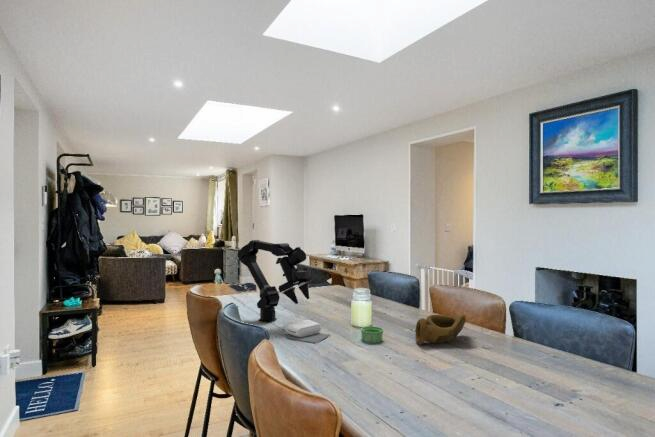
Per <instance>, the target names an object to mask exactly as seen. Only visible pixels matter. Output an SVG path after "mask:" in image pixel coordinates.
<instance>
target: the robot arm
mask: <svg viewBox="0 0 655 437" xmlns="http://www.w3.org/2000/svg"><path fill="white" fill-rule="evenodd" d="M259 250H260V251H265V252H269V253H271V254H272V255H273V256H275V257H278V258H277V259H276V262H275V264H276V265H280V267H281V270H282V272H283V274H282V277H285V278H286V282H284V283H282V284H281V285H278V290H277V287H276V286H274V285H273V286H271V285H270V284H269V282H268V280H267V279H266V277H265V275H264V273H263V271H262V270H261V268H260V266H259V264H258V262H257V254H258V253H259ZM237 259H238V260H239V262H240V263H241V264H243V265H244V266H246V267H247V269H248V271H249V272H250V275H251V277H252V278H253V280H254V282H255V284H256V286H257V288H258V289H259V298H260V299H259V300H258V301H257V303H256V306H257V308H258V309H260V310H259V311H260V312H259V316H260V317H259V318H258V319H257V321H258V322H259V321H260V322H263V323H264V322H265V323H266V322H267V323H271V322H273V320H274V321H276V320H277V319H278V318H277V317H276V307H278V305H279V302H280V294H279V293H281V294H282V295H285V296H286V297H287V298H288V299H290V300H291V301H292V302H293V303H294V304H295V305H298V303H299V302H298V297H297V295H296V292H295V290H296V286H298V289H299V290H300V292H301V294H302V295H303V296H304V297H305V298H306V300H309V299H310V292H309V285H310V284H311V281H312V277H311V273H312V271H311V269H310V268H309V267H305V268H303V270H300V269H299V267H298V268H296V266H298V265H299V264H301V263H303V262H304V261H306V260H307V253H306V252H305V251H304V250H303V249H301V247H300V246H296V247H294V249H293V247H291V245H290V243H287V242H284V243H282V242H281V243H273V242H267V241H263V240H260V239H251V240H250V241H249V242H248V243H247V244H245V245H243V247H241V248H240V249H239V250H238V252H237Z"/></svg>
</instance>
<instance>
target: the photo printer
mask: <svg viewBox="0 0 655 437" xmlns="http://www.w3.org/2000/svg"><path fill="white" fill-rule="evenodd" d="M284 328H285V329H284V330H285V331H286V333H287V334H288V335H290V336H291V335H293V336H296V337H304V336H308V335H312V334H316V333H320V332H321V331H322V327H321V324H320V323H318V322H316V321H313V320H312V319H311V320H310V319H304V320H303V319H302V320H299V321H293V322H289V323H287V324H285V327H284Z"/></svg>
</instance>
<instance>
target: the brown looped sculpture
mask: <svg viewBox="0 0 655 437" xmlns="http://www.w3.org/2000/svg"><path fill="white" fill-rule="evenodd" d="M466 321H467V319H466V315H465V314H461V315H460V316H457V317H454V316H450V315H444V314H430V315H428V316H427V317H426V318H424V317H423V318H422V317H421V318H419V319H418V320H417V322H416V325H415V335H414V336H415V342H416V343H417V344H418V345H419V346H422V345H423V344H424V343H425V342H429V343H432V344H433V343H434V344H439V343H441V342H447V343H449V342H450V341H451V340H452V339H453V338H456V337H457V336H459V334H460V333H461V332H462V330H463V328H464V326H465V324H466Z"/></svg>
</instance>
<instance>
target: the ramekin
mask: <svg viewBox="0 0 655 437" xmlns="http://www.w3.org/2000/svg"><path fill="white" fill-rule="evenodd" d="M360 332H361V339H362V341H363V342H365V343H370V344H371V343H372V344H374V343H375V344H376V343H380V342H382V341H383V333H384V328H383V327H381V326H376V325H375V326H374V325H367V326H362V327H361V328H360Z"/></svg>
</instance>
